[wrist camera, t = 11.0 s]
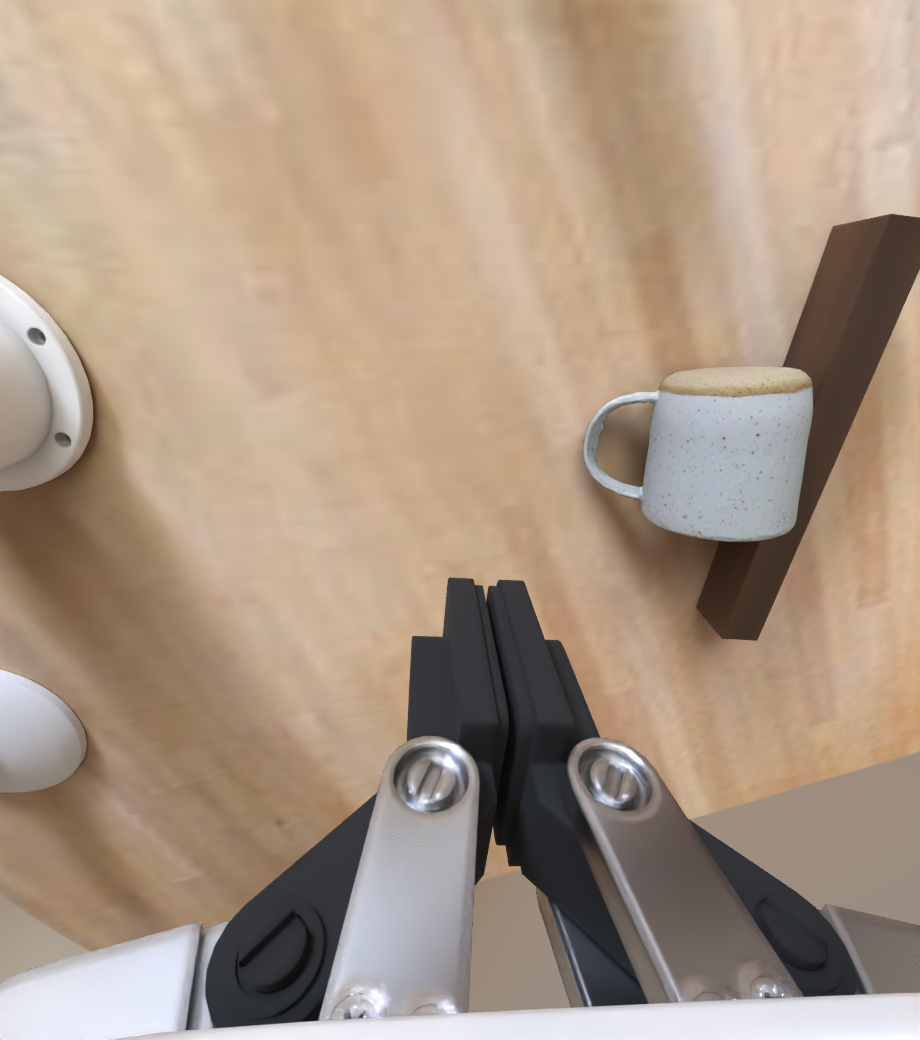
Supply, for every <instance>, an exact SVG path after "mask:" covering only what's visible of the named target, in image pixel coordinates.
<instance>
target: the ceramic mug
mask: <svg viewBox="0 0 920 1040" xmlns="http://www.w3.org/2000/svg"><path fill="white" fill-rule="evenodd" d="M646 402H650V403H653V405H654V408H653V414H652V417H651V428H650V434H649V439H650V442H649V449H648V454H647V460H646V465H645V473H644V481H643V486H642V487H636V486H631V485H628V484H624V483H621V482H619V481H617V480H615V479H613V478H611V477H609V476H608V475H607V474H605V473H604V472H603V471H602V470H601V469H600V468H599V467H598V465H597V460H596V452H597V444H598V439H599V435H600V432H601V431H602V430H603V429H604V424H605V422H604V420H605V419H606V417H607V414H608V413H610V412H611V411H613V410H615V409H617V408H619V407H620V406H622V405H628V404H634V403H646ZM812 416H813V390H812V382H811V378H810V377H809V376H808V375H807V374H806V373H805V372H803V371H801V370H799V369H794V368H787V367H773V366H739V367H713V368H701V369H692V370H685V371H679V372H676V373H673V374H670V375H669V376H668V377H667V378H666V379H665V380H663V382H662V383H661V385H660V387H659V389H658V391H656V392H637V393H633V394H629V395H624V396H620V397H618V398H616V399H614V400H612V401H610V402H608V403H607V404H605V405H604V406H603V407H602V408H601V409H600V410H599V411H598V412H597V413H596V414H595V416H594V417H593V419H592V420H591V422H590V423H589V425H588V428H587V430H586V434H585V438H584V443H583V459H584V463H585V465H586V467H587V469H588V471H589V473H590V474H591V476H592V477H593V478H594V479H595V480H596V481H598V482H599V483H600V484H601V485H603V486H604V487H605V488H607V489H609V490H611V491H613V492H615V493H618V494H620V495H623V496H626V497H630V498H634V499H640V500H641V510H642V513H643V515H644V516H645V517H646V519H648V520H649V521H650V522H652V523H653V524H655V525H657V526H659V527H661V528H664V529H666V530H669V531H672V532H674V533H678V534H681V535H685V536H690V537H695V538H702V539H709V540H715V541H727V542H749V541H760V540H765V539H771V538H775V537H778V536H781V535H784V534H786V533H788V532H789V531H790V530H791V529H792V528H793V526H794V525H795V522H796V519H797V511H798V503H799V496H800V490H801V484H802V478H803V472H804V464H805V456H806V449H807V442H808V437H809V433H810V428H811V422H812Z"/></svg>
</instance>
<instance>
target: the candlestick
mask: <svg viewBox="0 0 920 1040" xmlns="http://www.w3.org/2000/svg"><path fill="white" fill-rule="evenodd" d="M86 750H87V740H86V735H85V731H84V729H83V727H82V724H81V723H80V721H79V719H78V718H77V716H76V715H75V714H74V712H73V711H72V710H71V709H70V708H69V707H68V706H67V705H66V704H65V703H64V702H63V701H62V700H61V699H60V698H59V697H57V696H56V695H55V694H53V693H52V692H50V691H49V690H48V689H46V688H44V687H43V686H41V685H39V684H37V683H35V682H33V681H31V680H29V679H27V678H25V677H22V676H20V675H17V674H14V673H11V672H8V671H4V670H1V669H0V792H4V793H18V792H29V791H36V790H41V789H45V788H48V787H52V786H54V785H57V784H59V783H61V782H62V781H64V780H66V779H67V778H68V777H69V776H71V775H72V774H73V773H74V772H75V770H76V769H77V768H78V767H79V765H80V764H81V763H82V761H83V759H84V757H85V754H86Z"/></svg>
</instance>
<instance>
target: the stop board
mask: <svg viewBox="0 0 920 1040" xmlns="http://www.w3.org/2000/svg"><path fill="white" fill-rule="evenodd" d="M919 269H920V218H919V217H911V216H903V215H895V214H889V215H884V216H879V217H874V218H870V219H865V220H860V221H856V222H851V223H846V224H842V225H837V226H834V227H833V229H832V232H831V235H830V237H829V240H828V243H827V246H826V248H825V251H824V254H823V257H822V260H821V262H820V265H819V268H818V271H817V273H816V276H815V279H814V282H813V285H812V287H811V290H810V293H809V296H808V299H807V301H806V304H805V307H804V310H803V312H802V315H801V318H800V321H799V324H798V326H797V329H796V332H795V335H794V337H793V340H792V343H791V346H790V349H789V351H788V354H787V357H786V360H785V362H784V365H783V367H787V368H794V369H799V370H801V371H803V372H805V373H806V374H807V375H808V376H809V377H810V378H811V382H812V390H813V416H812V422H811V428H810V433H809V437H808V442H807V449H806V456H805V464H804V472H803V478H802V484H801V490H800V496H799V503H798V511H797V519H796V522H795V525H794V526H793V528H792V529H791V530H790V531H789V532H788V533H786V534H784V535H781V536H778V537H775V538H771V539H765V540H760V541H749V542H727V541H720V543H719V546H718V549H717V552H716V554H715V557H714V560H713V563H712V566H711V568H710V571H709V574H708V577H707V580H706V582H705V585H704V588H703V591H702V593H701V596H700V599H699V602H698V605H697V607H696V608H697V610H698V611H699V612H700V613H701V614H702V616H703V617H704V618H705V619H706V620H707V621H708V623H709V624H710V625H711V626H712V627H713V629H714V630H715V631H716V632H717V633H718V635H719V636H720V637H721V638H723V639H739V640H756V641H757V640H758V638H759V635H760V633H761V631H762V628H763V626H764V624H765V622H766V619H767V617H768V615H769V612H770V610H771V608H772V606H773V603H774V601H775V599H776V596H777V594H778V592H779V590H780V587H781V585H782V583H783V580H784V578H785V576H786V574H787V571H788V569H789V567H790V564H791V562H792V560H793V557H794V555H795V553H796V551H797V548H798V546H799V544H800V541H801V539H802V537H803V535H804V532H805V530H806V528H807V525H808V523H809V521H810V519H811V516H812V514H813V512H814V509H815V507H816V505H817V503H818V500H819V498H820V496H821V493H822V491H823V489H824V487H825V484H826V482H827V480H828V477H829V475H830V473H831V471H832V468H833V466H834V464H835V461H836V459H837V457H838V455H839V452H840V450H841V448H842V445H843V443H844V441H845V439H846V436H847V434H848V432H849V429H850V427H851V425H852V423H853V420H854V418H855V416H856V413H857V411H858V409H859V407H860V404H861V402H862V400H863V397H864V395H865V393H866V391H867V388H868V386H869V384H870V381H871V379H872V377H873V375H874V372H875V370H876V368H877V365H878V363H879V361H880V359H881V356H882V354H883V352H884V349H885V347H886V345H887V343H888V340H889V338H890V336H891V333H892V331H893V329H894V327H895V324H896V322H897V320H898V317H899V315H900V313H901V310H902V308H903V306H904V304H905V301H906V299H907V297H908V294H909V292H910V290H911V288H912V285H913V283H914V281H915V278H916V276H917V274H918V272H919Z"/></svg>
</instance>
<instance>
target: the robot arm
mask: <svg viewBox="0 0 920 1040" xmlns="http://www.w3.org/2000/svg"><path fill="white" fill-rule="evenodd" d="M92 425H93V400H92V395H91V391H90V386H89V381H88V378H87V376H86V373H85V371H84V368H83V366H82V363H81V361H80V359H79V356H78V355H77V353H76V351H75V350H74V348H73V346H72V345H71V343H70V341H69V340H68V338H67V336H66V335H65V334H64V332H63V331H62V330H61V329H60V327H59V326H58V325H57V324H56V323H55V321H54V320H53V319H52V318H51V316H50V315H49V314H48V313H47V312H46V311H45V310H44V309H43V308H42V307H41V306H40V305H39V304H38V303H37V302H35V301H34V300H33V299H32V298H31V297H30V296H29V295H28V294H27V293H26V292H24V291H23V290H21V289H20V288H18V287H17V286H16V285H14V284H13V283H11V282H10V281H9V280H7V279H6V278H4V277H3V276H1V275H0V491H12V490H22V489H26V488H30V487H34V486H38V485H41V484H43V483H45V482H47V481H50V480H52V479H54V478H57V477H58V476H60V475H61V474H63V473H64V472H65V471H67V470H68V469H70V468H71V467H72V466H73V465H74V464H75V463H76V461H77V460H78V459H79V458H80V457H81V456H82V454H83V452H84V450H85V448H86V446H87V444H88V442H89V440H90V435H91V430H92ZM492 827H493V829H494V836H495V842H496V844H497V845H506V851H507V857H508V864H509V866H521V871H522V874H523V875H524V876H525V877H526V878H527V879H528V880H530V881H531V882H532V883H533V884H534V885H535V886H536V894H537V899H538V905H539V908H540V912H541V914H542V918H543V921H544V924H545V927H546V930H547V933H548V937H549V940H550V943H551V946H552V950H553V953H554V956H555V959H556V962H557V965H558V968H559V972H560V975H561V978H562V981H563V984H564V987H565V991H566V994H567V997H568V1000H569V1003H570V1006H571V1008H555V1009H535V1010H514V1011H494V1012H477V1013H468V1007H469V986H470V966H471V944H472V925H473V904H474V886H475V885H476V884H477V882H478V881H479V880H480V879H481V877H482V876H483V875H484V871H485V865H486V860H487V854H488V849H489V843H490V838H491V832H492ZM0 1040H920V926H919V925H914V924H910V923H906V922H901V921H897V920H893V919H889V918H885V917H880V916H876V915H872V914H868V913H863V912H859V911H855V910H850V909H846V908H842V907H838V906H833V905H829V904H825V906H824V907H823V908H822V910H817V909H816V908H815V907H814V906H813V905H812V904H810V903H809V902H808V901H807V900H806V899H804V898H803V897H802V896H800V895H799V894H798V893H797V892H796V891H794V890H793V889H791V888H789V887H788V886H787V885H785V884H784V883H782V882H781V881H779V880H778V879H776V878H775V877H773V876H772V875H770V874H769V873H767V872H766V871H764V870H763V869H762V868H760V867H759V866H757V865H756V864H754V863H753V862H751V861H749V860H748V859H747V858H745V857H744V856H742V855H741V854H739V853H738V852H736V851H735V850H733V849H732V848H730V847H729V846H728V845H726V844H725V843H723V842H722V841H720V840H719V839H717V838H716V837H714V836H712V835H711V834H710V833H708V832H707V831H705V830H704V829H702V828H701V827H699V826H698V825H696V824H695V823H693V822H692V821H691V820H689V819H688V818H687V817H686V816H685V814H684V812H683V811H682V809H681V808H680V806H679V805H678V803H677V802H676V800H675V799H674V797H673V796H672V794H671V793H670V791H669V790H668V788H667V787H666V785H665V783H664V782H663V780H662V779H661V777H660V776H659V774H658V773H657V771H656V770H655V769H654V767H653V766H652V765H651V764H650V763H649V761H648V760H647V759H646V758H645V757H644V756H643V755H641V754H640V753H639V752H637V751H636V750H635V749H634V748H632V747H630V746H628V745H626V744H624V743H622V742H620V741H616V740H613V739H609V738H600V736H599V733H598V731H597V728H596V726H595V723H594V721H593V718H592V716H591V714H590V711H589V709H588V706H587V704H586V701H585V699H584V696H583V694H582V691H581V689H580V686H579V684H578V681H577V679H576V676H575V674H574V671H573V669H572V667H571V664H570V662H569V659H568V657H567V654H566V652H565V649H564V647H563V645H562V643H561V642H560V641H558V640H545V639H544V636H543V633H542V630H541V628H540V625H539V622H538V619H537V616H536V614H535V611H534V608H533V605H532V602H531V599H530V597H529V594H528V591H527V588H526V585H525V583H524V581H515V580H498V582H497V586H489V588H488V593H487V601H486V600H485V595H484V590H483V586H481V585H474V580H473V579H467V578H449V579H448V585H447V596H446V607H445V618H444V629H443V637H428V636H412V648H411V665H410V684H409V705H408V728H407V742H406V743H404V744H402V745H401V746H399V747H398V748H397V749H396V750H395V751H394V752H393V753H392V755H391V756H390V757H389V759H388V761H387V763H386V766H385V768H384V770H383V774H382V778H381V782H380V786H379V790H378V792H377V793H376V794H375V795H374V796H373V797H371V798H370V799H369V800H368V801H367V802H366V803H364V804H363V805H362V806H361V807H360V808H359V809H357V810H356V811H355V812H354V813H353V814H351V815H350V816H349V817H348V818H347V819H346V820H344V821H343V822H342V823H341V824H340V825H339V826H337V827H336V828H335V829H334V830H333V831H332V832H330V833H329V834H328V835H327V836H326V837H325V838H323V839H322V840H321V841H320V842H319V843H317V844H316V845H315V846H314V847H313V848H312V849H310V850H309V851H308V852H307V853H306V854H305V855H303V856H302V857H301V858H300V859H299V860H298V861H296V862H295V863H294V864H293V865H292V866H291V867H289V868H288V869H287V870H286V871H285V872H283V873H282V874H281V875H280V876H279V877H278V878H276V879H275V880H274V881H273V882H272V883H271V884H269V885H268V886H267V887H266V888H265V889H264V890H262V891H261V892H260V893H259V894H258V895H257V896H255V897H254V898H253V899H252V900H251V901H249V902H248V903H247V904H246V905H245V906H244V907H243V908H242V909H241V910H240V911H239V912H238V913H237V914H236V915H235V916H234V917H233V919H232V920H231V921H227V922H224V923H220V924H217V925H213V926H210V927H206V928H203V926H202V922H201V921H199V922H196V923H192V924H188V925H185V926H181V927H178V928H174V929H171V930H167V931H164V932H160V933H156V934H153V935H149V936H146V937H142V938H139V939H135V940H131V941H128V942H124V943H121V944H117V945H114V946H110V947H107V948H103V949H99V950H96V951H92V952H89V953H85V954H82V955H78V956H74V957H71V958H68V959H64V960H60V961H57V962H53V963H49V964H46V965H42V966H39V967H35V968H32V969H29V970H26V971H24V972H22V973H20V974H17V975H15V976H13V977H11V978H8V979H6V980H4V981H2V982H1V983H0Z"/></svg>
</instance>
